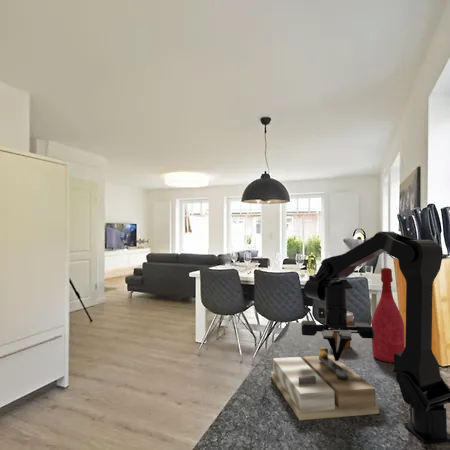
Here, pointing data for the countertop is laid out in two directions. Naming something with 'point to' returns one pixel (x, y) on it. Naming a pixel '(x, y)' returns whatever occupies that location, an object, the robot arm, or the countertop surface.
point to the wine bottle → (387, 323)
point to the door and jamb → (322, 389)
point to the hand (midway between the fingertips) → (336, 360)
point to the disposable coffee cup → (349, 323)
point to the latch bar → (332, 364)
